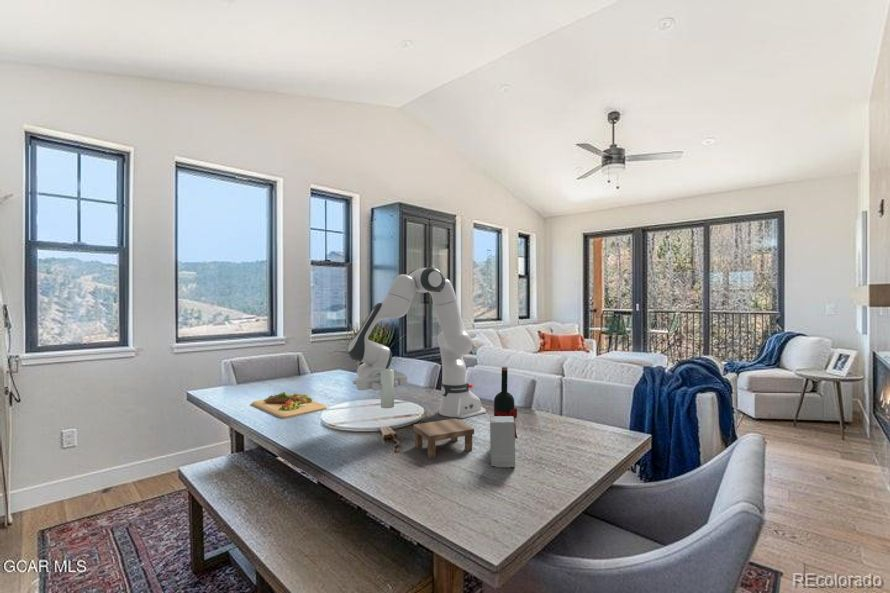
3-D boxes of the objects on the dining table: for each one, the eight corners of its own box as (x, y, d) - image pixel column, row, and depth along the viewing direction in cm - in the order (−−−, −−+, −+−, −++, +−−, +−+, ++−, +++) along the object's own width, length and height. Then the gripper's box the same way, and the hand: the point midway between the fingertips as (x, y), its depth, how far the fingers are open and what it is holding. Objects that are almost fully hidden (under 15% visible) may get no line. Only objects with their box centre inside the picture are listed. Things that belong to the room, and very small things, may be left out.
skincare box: (514, 461, 153) (514, 415, 153) (515, 469, 146) (516, 421, 146) (489, 459, 154) (490, 414, 154) (489, 468, 147) (490, 420, 146)
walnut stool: (455, 438, 175) (455, 418, 175) (474, 450, 162) (474, 428, 162) (413, 445, 167) (413, 424, 166) (429, 459, 154) (429, 436, 154)
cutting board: (329, 410, 215) (329, 394, 215) (283, 420, 198) (283, 403, 198) (293, 397, 239) (293, 383, 239) (249, 405, 222) (249, 390, 222)
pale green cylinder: (391, 404, 172) (391, 368, 172) (395, 407, 168) (395, 370, 167) (378, 405, 170) (378, 369, 169) (383, 409, 165) (383, 371, 165)
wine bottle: (509, 454, 159) (510, 371, 158) (488, 446, 167) (489, 366, 166) (523, 449, 164) (524, 368, 163) (503, 441, 172) (503, 364, 171)
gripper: (350, 373, 175) (361, 380, 163) (399, 368, 185) (412, 375, 172) (351, 389, 175) (361, 397, 163) (399, 383, 185) (412, 391, 173)
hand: (388, 385), depth 168 cm, fingers closed on pale green cylinder, 5 cm apart
